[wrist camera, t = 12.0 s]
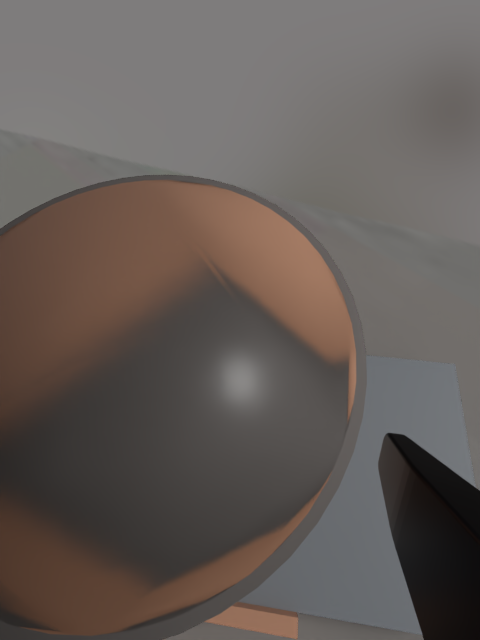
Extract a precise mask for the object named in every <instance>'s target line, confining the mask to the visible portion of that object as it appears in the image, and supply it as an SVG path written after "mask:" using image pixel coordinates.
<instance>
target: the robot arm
mask: <svg viewBox="0 0 480 640" xmlns="http://www.w3.org/2000/svg"><path fill="white" fill-rule="evenodd" d="M378 471H379V476H380V481H381V486H382V491H383V496H384V501H385V506H386V511H387V516H388V521H389V526H390V530H391V534H392V538H393V542H394V545H395V549H396V552H397V555H398V558H399V561H400V565H401V568H402V571H403V574H404V577H405V581H406V584H407V587H408V590H409V593H410V597H411V600H412V603H413V606H414V609H415V613H416V616H417V619H418V622H419V625H420V629H421V632H422V635H423V638H424V640H480V491H479V490H478V489H477V488H475V487H474V486H473V485H471V484H470V483H469V482H467V481H466V480H465V479H463V478H462V477H461V476H459V475H458V474H457V473H455V472H454V471H453V470H451V469H450V468H449V467H447V466H446V465H445V464H443V463H442V462H441V461H439V460H438V459H436V458H435V457H434V456H432V455H431V454H430V453H428V452H427V451H426V450H424V449H423V448H422V447H420V446H419V445H418V444H416V443H415V442H414V441H412V440H411V439H410V438H408V437H407V436H405V435H403V434H396V433H387V434H385V436H384V439H383V443H382V447H381V451H380V456H379V460H378Z"/></svg>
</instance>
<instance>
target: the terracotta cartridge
mask: <svg viewBox="0 0 480 640" xmlns="http://www.w3.org/2000/svg"><path fill="white" fill-rule="evenodd" d="M366 387H367V367H366V348H365V342H364V336H363V330H362V324H361V320H360V317H359V314H358V311H357V308H356V304H355V301H354V298H353V295H352V293H351V291H350V289H349V287H348V285H347V283H346V281H345V279H344V277H343V274H342V272H341V271H340V269H339V268H338V266H337V265H336V263H335V262H334V260H333V259H332V257H331V256H330V254H329V253H328V251H327V250H326V249H325V248H324V247H323V246H322V244H321V243H320V242H319V241H318V240H317V239H316V237H315V236H314V235H313V234H312V233H311V232H310V231H309V230H308V229H306V228H305V227H304V226H303V225H302V224H301V223H300V222H299V221H297V220H296V219H295V218H294V217H293V216H291V215H290V214H288V213H287V212H285V211H284V210H282V209H281V208H280V207H278V206H277V205H275V204H273V203H271V202H269V201H268V200H266V199H264V198H262V197H260V196H258V195H256V194H254V193H251V192H249V191H246V190H244V189H241V188H239V187H236V186H233V185H229V184H226V183H222V182H218V181H215V180H210V179H204V178H198V177H192V176H178V175H145V176H136V177H128V178H120V179H116V180H111V181H106V182H101V183H97V184H94V185H91V186H87V187H84V188H81V189H77V190H74V191H72V192H69V193H67V194H64V195H62V196H59V197H57V198H54V199H52V200H50V201H48V202H46V203H44V204H42V205H40V206H38V207H36V208H33V209H31V210H30V211H28V212H26V213H25V214H23V215H21V216H20V217H18V218H16V219H15V220H13V221H11V222H10V223H8V224H7V225H5V226H4V227H2V228H1V229H0V640H162V639H165V638H168V637H171V636H175V635H178V634H180V633H182V632H184V631H186V630H188V629H190V628H192V627H194V626H196V625H198V624H200V623H202V622H205V621H207V620H209V619H211V618H213V617H215V616H217V615H219V614H221V613H222V612H223V611H225V610H226V609H228V608H229V607H231V606H232V605H234V604H235V603H236V602H238V601H239V600H241V599H242V598H244V597H245V596H246V595H248V594H249V593H251V592H252V591H254V590H255V589H256V588H258V587H259V586H260V585H261V584H262V583H263V582H264V581H265V580H266V579H268V578H269V577H270V576H271V575H272V574H273V573H274V572H275V571H276V570H277V569H278V568H279V567H280V566H281V565H282V564H284V563H285V562H286V561H287V560H288V559H289V558H290V557H291V556H292V555H293V553H294V552H295V551H296V550H297V548H298V547H299V546H300V545H301V543H302V542H303V541H304V540H305V538H306V537H307V536H308V535H309V533H310V532H311V531H312V530H313V528H314V527H315V526H316V525H317V523H318V522H319V520H320V518H321V517H322V515H323V513H324V512H325V510H326V508H327V507H328V505H329V503H330V502H331V500H332V498H333V497H334V495H335V493H336V492H337V490H338V488H339V486H340V484H341V481H342V479H343V476H344V474H345V472H346V469H347V467H348V465H349V462H350V460H351V457H352V455H353V453H354V449H355V445H356V442H357V438H358V434H359V430H360V426H361V423H362V419H363V412H364V404H365V395H366Z"/></svg>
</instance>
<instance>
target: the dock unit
mask: <svg viewBox="0 0 480 640" xmlns="http://www.w3.org/2000/svg"><path fill="white" fill-rule="evenodd" d="M366 367H367V387H366V395H365V404H364V412H363V419H362V423H361V426H360V430H359V434H358V438H357V442H356V445H355V449H354V453H353V455H352V457H351V460H350V462H349V465H348V467H347V469H346V472H345V474H344V476H343V479H342V481H341V484H340V486H339V488H338V490H337V492H336V493H335V495H334V497H333V498H332V500H331V502H330V503H329V505H328V507H327V508H326V510H325V512H324V513H323V515H322V517H321V518H320V520H319V522H318V523H317V525H316V526H315V527H314V528H313V530H312V531H311V532H310V533H309V535H308V536H307V537H306V538H305V540H304V541H303V542H302V543H301V545H300V546H299V547H298V548H297V550H296V551H295V552H294V553H293V555H292V556H291V557H290V558H289V559H288V560H287V561H286V562H285V563H284V564H282V565H281V566H280V567H279V568H278V569H277V570H276V571H275V572H274V573H273V574H272V575H271V576H270V577H269V578H268V579H266V580H265V581H264V582H263V583H262V584H261V585H260V586H259V587H258V588H256V589H255V590H254V591H252V592H251V593H249V594H248V595H246V596H245V597H244V598H242V599H241V600H239V601H238V602H236V603H235V604H234V605H232V606H231V607H229V608H228V609H226V610H225V611H223V612H222V613H221V614H219V615H217V616H215V617H213V618H211V619H209V620H207V621H205V622H209V623H214V624H219V625H225V626H230V627H235V628H241V629H246V630H251V631H256V632H262V633H267V634H272V635H278V636H283V637H288V638H294V639H297V635H298V616H297V613H303V614H309V615H314V616H320V617H325V618H331V619H336V620H342V621H347V622H353V623H359V624H364V625H370V626H375V627H381V628H386V629H392V630H397V631H403V632H409V633H414V634H420V635H422V632H421V629H420V625H419V622H418V619H417V616H416V613H415V609H414V606H413V603H412V600H411V597H410V593H409V590H408V587H407V584H406V581H405V577H404V574H403V571H402V568H401V565H400V561H399V558H398V555H397V552H396V549H395V545H394V542H393V538H392V534H391V530H390V526H389V521H388V516H387V511H386V506H385V501H384V496H383V491H382V486H381V481H380V476H379V471H378V460H379V456H380V451H381V447H382V443H383V439H384V436H385V434H387V433H396V434H403V435H405V436H407V437H408V438H410V439H411V440H412V441H414V442H415V443H416V444H418V445H419V446H420V447H422V448H423V449H424V450H426V451H427V452H428V453H430V454H431V455H432V456H434V457H435V458H436V459H438V460H439V461H441V462H442V463H443V464H445V465H446V466H447V467H449V468H450V469H451V470H453V471H454V472H455V473H457V474H458V475H459V476H461V477H462V478H463V479H465V480H466V481H467V482H469V483H470V484H471V485H473V486H474V487H475V488H476V486H475V480H474V474H473V468H472V462H471V456H470V450H469V444H468V438H467V432H466V426H465V421H464V415H463V409H462V403H461V397H460V391H459V385H458V379H457V373H456V367H455V364H449V363H439V362H429V361H419V360H409V359H399V358H389V357H379V356H369V355H366Z"/></svg>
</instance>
